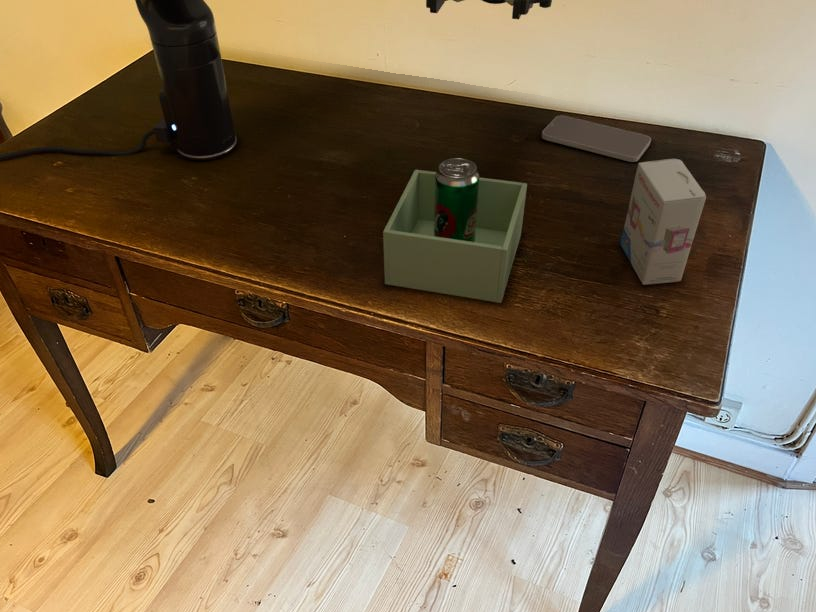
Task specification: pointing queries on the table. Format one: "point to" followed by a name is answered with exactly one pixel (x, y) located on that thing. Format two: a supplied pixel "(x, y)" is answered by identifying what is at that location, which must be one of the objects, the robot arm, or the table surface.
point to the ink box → (662, 220)
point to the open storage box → (454, 241)
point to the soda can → (456, 200)
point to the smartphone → (597, 138)
